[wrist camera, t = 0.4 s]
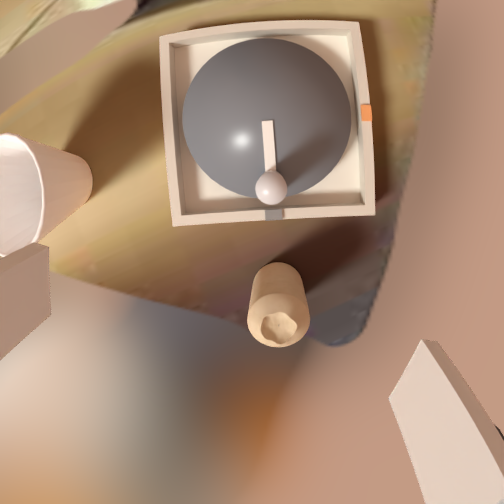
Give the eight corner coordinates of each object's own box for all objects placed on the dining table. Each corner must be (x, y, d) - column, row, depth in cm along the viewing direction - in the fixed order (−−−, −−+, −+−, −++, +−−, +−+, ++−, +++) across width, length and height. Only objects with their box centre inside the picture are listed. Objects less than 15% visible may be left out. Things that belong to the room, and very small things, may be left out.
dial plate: (168, 45, 29) (158, 35, 26) (351, 32, 28) (359, 21, 24) (181, 220, 35) (172, 226, 32) (366, 209, 33) (375, 215, 30)
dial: (183, 54, 29) (158, 28, 21) (338, 43, 27) (356, 13, 20) (194, 202, 33) (171, 215, 25) (351, 193, 32) (374, 204, 24)
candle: (299, 258, 35) (308, 295, 26) (304, 304, 37) (313, 352, 27) (249, 264, 36) (241, 303, 26) (256, 309, 37) (251, 358, 28)
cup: (93, 117, 32) (25, 107, 20) (124, 209, 35) (63, 234, 23) (27, 160, 34) (-41, 169, 22) (55, 242, 37) (-8, 273, 25)
